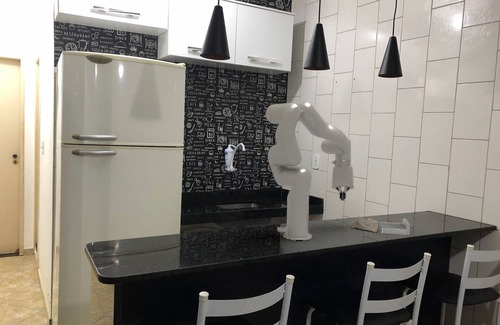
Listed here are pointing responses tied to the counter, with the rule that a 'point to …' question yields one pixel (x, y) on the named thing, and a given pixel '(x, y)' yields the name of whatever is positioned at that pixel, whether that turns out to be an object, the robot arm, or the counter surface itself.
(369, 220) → the concrete fragment
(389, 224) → the dock
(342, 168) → the robot arm
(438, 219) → the counter surface
